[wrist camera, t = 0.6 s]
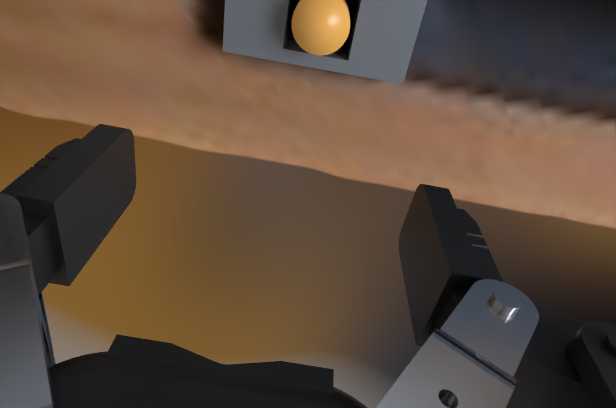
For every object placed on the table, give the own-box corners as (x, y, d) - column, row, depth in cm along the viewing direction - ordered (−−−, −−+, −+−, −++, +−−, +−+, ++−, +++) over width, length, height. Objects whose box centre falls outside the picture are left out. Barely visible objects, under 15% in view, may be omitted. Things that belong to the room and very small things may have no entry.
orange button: (299, -19, 31) (296, -13, 28) (354, -9, 31) (356, -1, 28) (292, 38, 33) (287, 50, 30) (343, 47, 33) (343, 60, 30)
